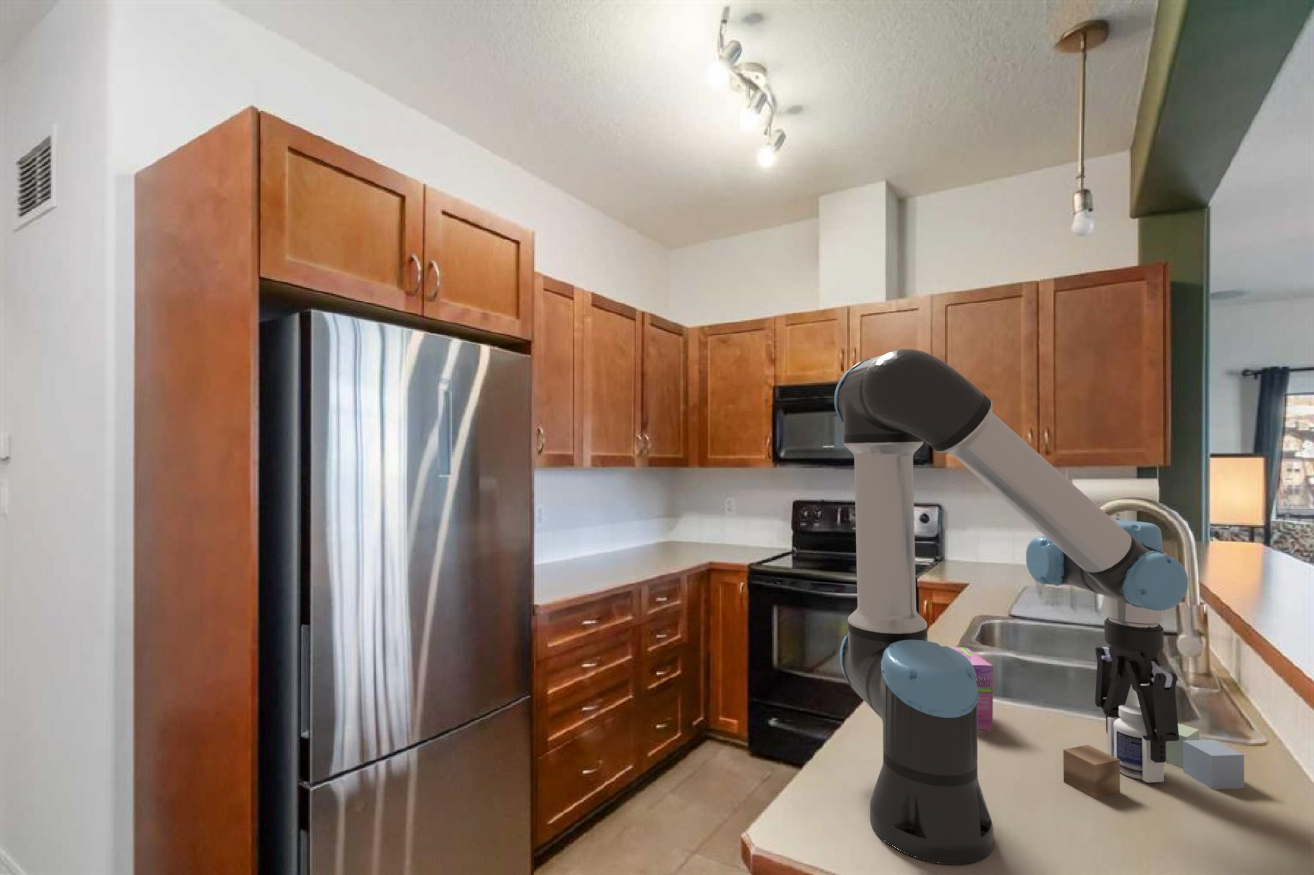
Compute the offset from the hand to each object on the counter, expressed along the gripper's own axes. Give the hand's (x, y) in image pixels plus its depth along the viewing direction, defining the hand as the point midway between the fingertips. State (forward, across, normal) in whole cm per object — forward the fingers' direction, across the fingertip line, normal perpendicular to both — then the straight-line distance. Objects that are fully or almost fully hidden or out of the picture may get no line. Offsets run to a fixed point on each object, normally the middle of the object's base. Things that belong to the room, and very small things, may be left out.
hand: (1134, 768), depth 103 cm
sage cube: (+1, +4, -10) cm, 11 cm away
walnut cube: (+1, -4, +10) cm, 11 cm away
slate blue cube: (+1, -3, -10) cm, 10 cm away
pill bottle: (+1, 0, 0) cm, 1 cm away
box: (+1, +21, +16) cm, 26 cm away
